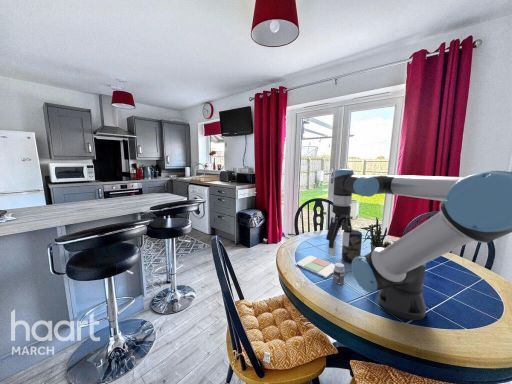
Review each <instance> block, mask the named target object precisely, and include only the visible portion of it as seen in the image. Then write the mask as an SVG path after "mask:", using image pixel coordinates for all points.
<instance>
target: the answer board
mask: <svg viewBox="0 0 512 384" xmlns="http://www.w3.org/2000/svg"><path fill="white" fill-rule="evenodd" d="M296 264H298V265H300V266H302V267H304V268H306V269H308V270H311V271H313V272H315V273H317V274H320V275H322V276H324V277H326V278H327V277H328V276H329V275H331V274H332V273H333V272H334V267H335V264H336V263H335V264H334V263H332V262H330V261H327V260H324V259H322V258H319V257H316V256H313V255H311V254H310V255H308V256H306V257H304V258H303V259H300V260H299V261H297V262H296V263H295V265H296ZM304 268H303V269H304ZM306 269H305V270H306ZM308 270H307V271H308ZM315 273H314V274H315ZM317 274H316V275H317ZM332 275H333V274H332ZM332 275H331V276H332ZM324 277H323V278H324ZM329 277H330V276H329ZM329 277H328V278H329ZM326 278H325V279H326ZM328 278H327V279H328Z"/></svg>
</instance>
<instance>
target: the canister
mask: <svg viewBox="0 0 512 384" xmlns="http://www.w3.org/2000/svg"><path fill="white" fill-rule="evenodd" d="M351 231H352V233H349V246H348V247H347V246H344V245H341V247H342V248H341V258H342V260H343V261H345V262H347V263H351V264H352V261H353V259H354V258H355V257H358V256H362V254H361V252H362V240H363V233H362V232H361V231H360V230H357V229H353V228H352V230H351ZM343 232H345V231H344V230H343Z"/></svg>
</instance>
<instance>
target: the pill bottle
mask: <svg viewBox="0 0 512 384" xmlns="http://www.w3.org/2000/svg"><path fill="white" fill-rule="evenodd" d="M345 275H346V274H345V264H343V263H341V262H336V263H335V267H334V273H333V274H332V276H333V277H332V281H333V282H334V283H335V282H336V283H340V284H339V285H343V284H344V283H345ZM336 283H335V284H336ZM342 283H343V284H342Z"/></svg>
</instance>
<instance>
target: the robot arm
mask: <svg viewBox="0 0 512 384" xmlns="http://www.w3.org/2000/svg"><path fill="white" fill-rule="evenodd" d="M383 194H386V195H387V194H388V195H394V196H395V195H396V196H405V197H411V198H418V199H426V200H432V201H440V204H439V211H438V212H437V213H436V214H434V215H433V216H431V217H429V218H428V219H426V220H425V221H424V222H422V223H420V224H419V225H418V226H416V227H415V228H413V229H412V230H410V231H409V232H407V233H405V234H404V235H403V236H401V237H400V238H398V239H397V240H395V241H394V242H393V243H391V244H389V245H388V246H386V247H383V246H380V247H375V248H374V249H373V250H371V251H370V252H369V253H367V254H366V255H360V256H358V257H355V258H354V259H353V261H352V263H351V273H352V275H353V277H354V280H355V282H356V284H357V285H358V286H359V287H361V288H362V289H363V290H364V291H366V292H376V291H378V294H377V295H378V296H377V297H378V298H377V300H378V303H379V305H380V306H381V307H382V308H383V309H384V310H386V311H387V312H388V313H390V314H391V315H394V316H396V317H398V318H401V319H405V320H408V321H409V320H410V321H419V320H420V321H421V320H423V319H424V318H425V317H426V314H427V307H426V302H425V299H424V296H423V287H424V281H425V272H426V267H427V263H429V262H432V261H434V260H435V259H438V258H440V257H441V256H444V255H446V254H448V253H449V252H452V251H455V250H456V249H458V248H460V247H462V246H465V245H467V244H469V243H471V242H473V241H474V242H477V243H482V244H486V243H491V242H493V241H494V240H497V239H499V238H502V237H504V236H507V235H509V234H512V171H506V170H489V171H483V172H478V173H473V174H470V175H467V176H440V175H438V176H437V175H435V176H434V175H433V176H432V175H405V174H403V175H402V174H400V175H399V174H395V173H394V174H392V173H391V174H379V175H378V174H374V175H373V174H371V175H370V174H367V175H362V174H361V175H360V174H354V170H353V169H350V168H349V169H348V168H338V169H337V168H336V170H335V171H334V176H333V194H332V203H333V204H332V208H331V212H332V213H333V214H335V215H334V217H333V216H331V217H330V223H329V227H328V230H327V234H326V241H328V252H327V253H328V255H331V256H336V244H337V243H336V242H337V241H336V238H337V236H338V233H339V231H340V228H342V229H343V231H342V240H341V241H342V242H341V244H342V245H344V246H347V247H348V246H349V233H352V231H351V230H352V229H353V227H352V226H353V225H352V221H351V210H352V206H351V205H352V201H353V200H352V199H353V196H352V195H358V196H360V197H367V198H368V197H373V196H375V195H383ZM344 231H345V232H344ZM342 245H341V246H342Z"/></svg>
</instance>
